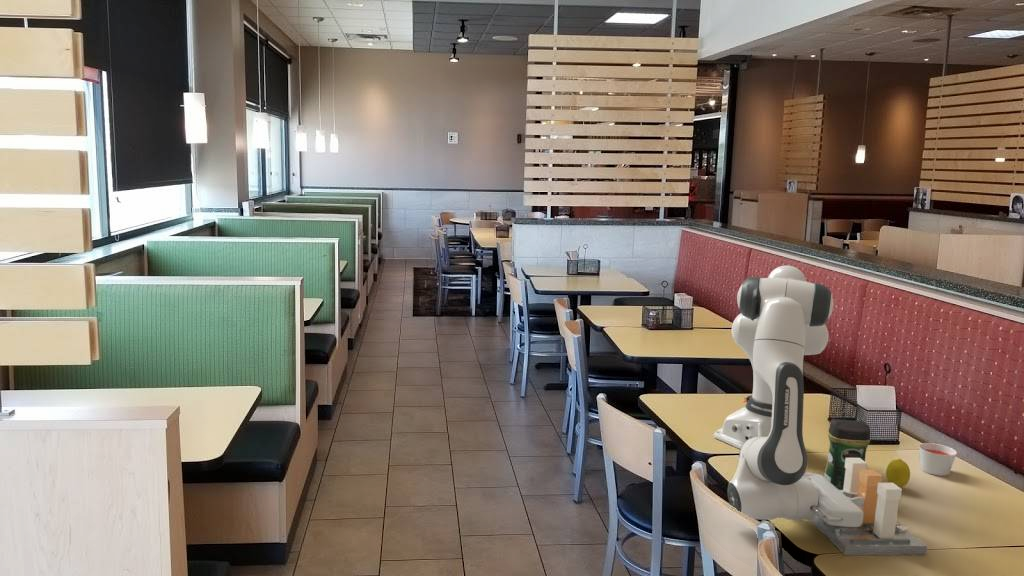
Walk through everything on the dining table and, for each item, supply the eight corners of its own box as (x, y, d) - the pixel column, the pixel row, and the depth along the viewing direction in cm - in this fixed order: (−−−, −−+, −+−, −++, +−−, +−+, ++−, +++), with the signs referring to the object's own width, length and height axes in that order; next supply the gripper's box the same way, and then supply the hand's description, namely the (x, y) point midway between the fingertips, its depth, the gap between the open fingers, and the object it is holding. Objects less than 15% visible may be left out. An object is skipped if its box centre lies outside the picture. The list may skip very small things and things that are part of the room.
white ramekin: (917, 474, 213) (920, 451, 211) (914, 462, 221) (917, 440, 220) (955, 480, 209) (958, 457, 208) (951, 468, 218) (954, 446, 216)
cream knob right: (880, 539, 170) (886, 489, 168) (871, 531, 173) (878, 482, 171) (895, 539, 170) (902, 489, 168) (886, 531, 173) (893, 482, 171)
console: (845, 555, 167) (846, 541, 166) (798, 508, 188) (800, 496, 188) (925, 554, 168) (927, 541, 168) (870, 508, 190) (872, 496, 190)
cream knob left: (847, 509, 183) (853, 463, 181) (840, 503, 187) (845, 457, 185) (861, 509, 184) (867, 463, 182) (853, 503, 187) (859, 457, 185)
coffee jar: (857, 486, 203) (866, 417, 199) (867, 499, 195) (876, 427, 192) (818, 483, 204) (826, 414, 200) (826, 496, 196) (835, 424, 193)
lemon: (910, 494, 199) (914, 464, 198) (887, 491, 200) (891, 461, 199) (904, 485, 204) (908, 456, 203) (881, 482, 205) (885, 453, 204)
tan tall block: (861, 524, 176) (867, 475, 174) (853, 517, 180) (859, 469, 178) (876, 524, 177) (882, 475, 175) (868, 517, 180) (874, 469, 178)
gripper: (825, 506, 165) (888, 506, 166) (784, 467, 185) (840, 467, 186) (822, 534, 166) (884, 534, 167) (781, 492, 186) (837, 492, 187)
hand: (861, 499), depth 177 cm, fingers closed, pressing on tan tall block
